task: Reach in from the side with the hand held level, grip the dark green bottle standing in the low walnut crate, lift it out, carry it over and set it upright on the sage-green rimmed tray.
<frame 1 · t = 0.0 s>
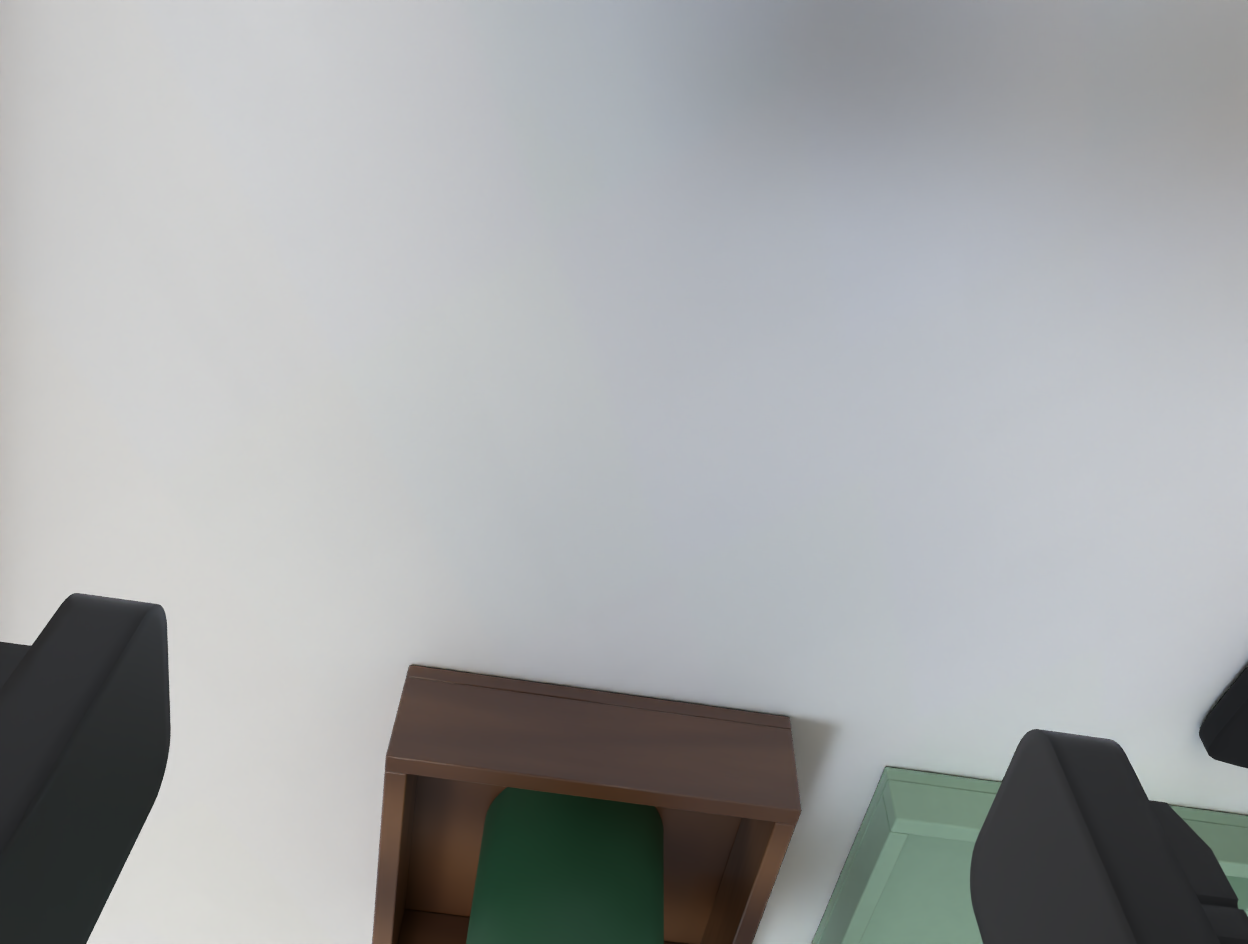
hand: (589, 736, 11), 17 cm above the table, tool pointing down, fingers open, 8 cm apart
crate: (575, 817, 37), on the table
green bottle: (574, 829, 37), resting on crate
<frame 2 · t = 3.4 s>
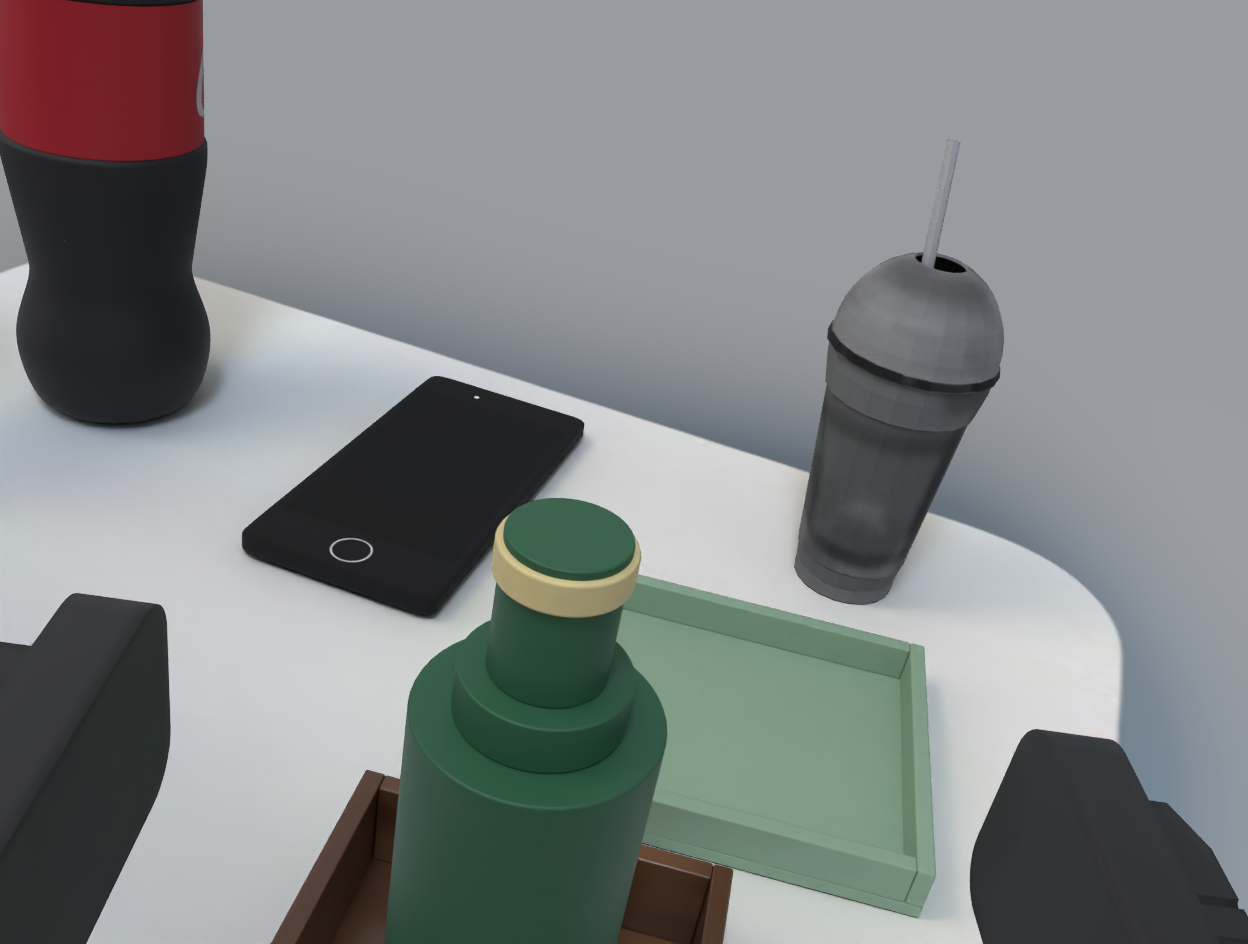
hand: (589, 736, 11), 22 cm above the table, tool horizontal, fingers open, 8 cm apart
beverage cup: (840, 577, 55), on the table
tray: (699, 730, 44), on the table
cola bottle: (119, 398, 58), on the table
cell phone: (431, 490, 55), on the table
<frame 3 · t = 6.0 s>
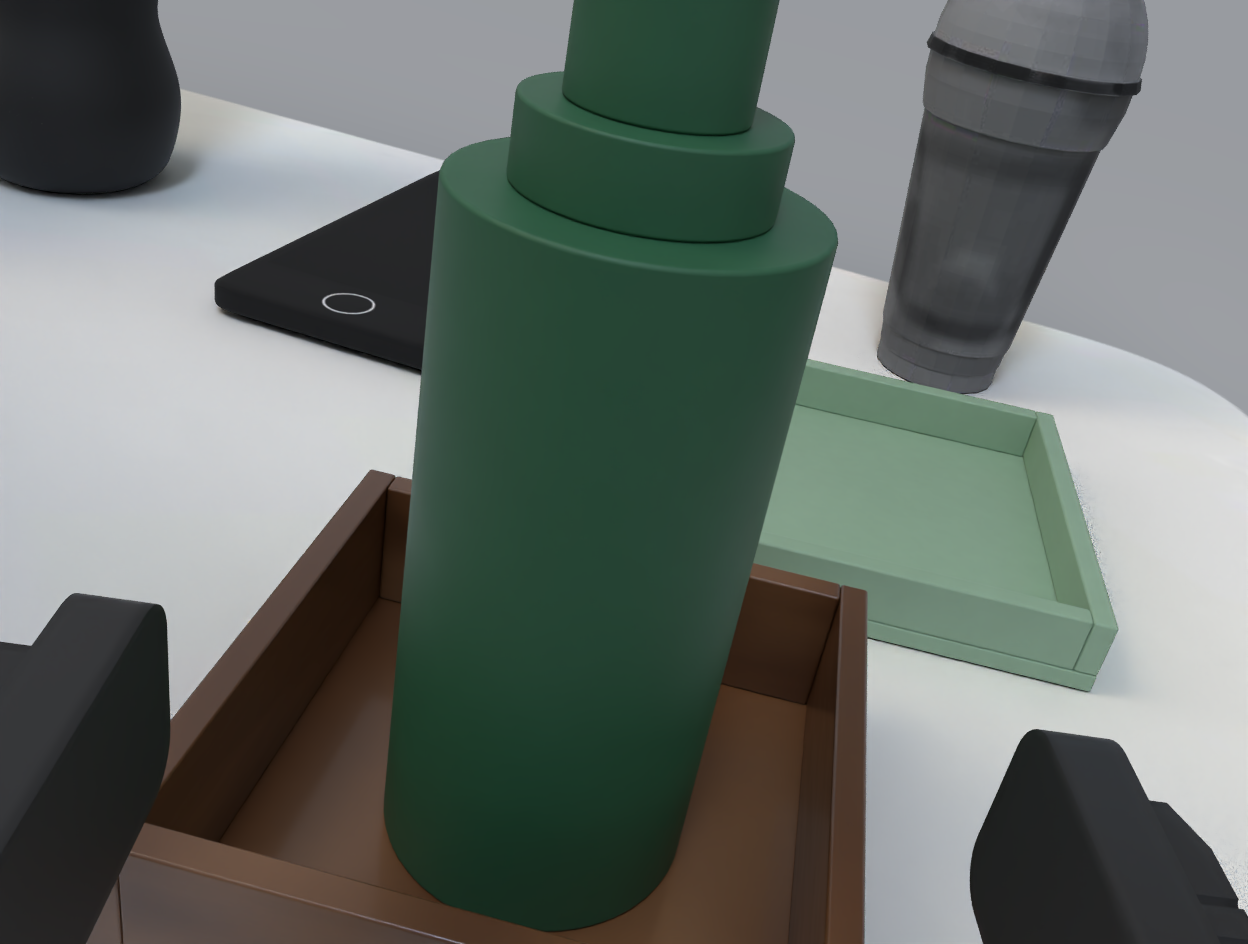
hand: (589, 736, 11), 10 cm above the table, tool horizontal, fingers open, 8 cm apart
beverage cup: (932, 370, 46), on the table
tray: (786, 497, 35), on the table
cola bottle: (73, 175, 49), on the table
cell phone: (444, 270, 47), on the table
crate: (530, 827, 23), on the table
green bottle: (533, 809, 22), resting on crate
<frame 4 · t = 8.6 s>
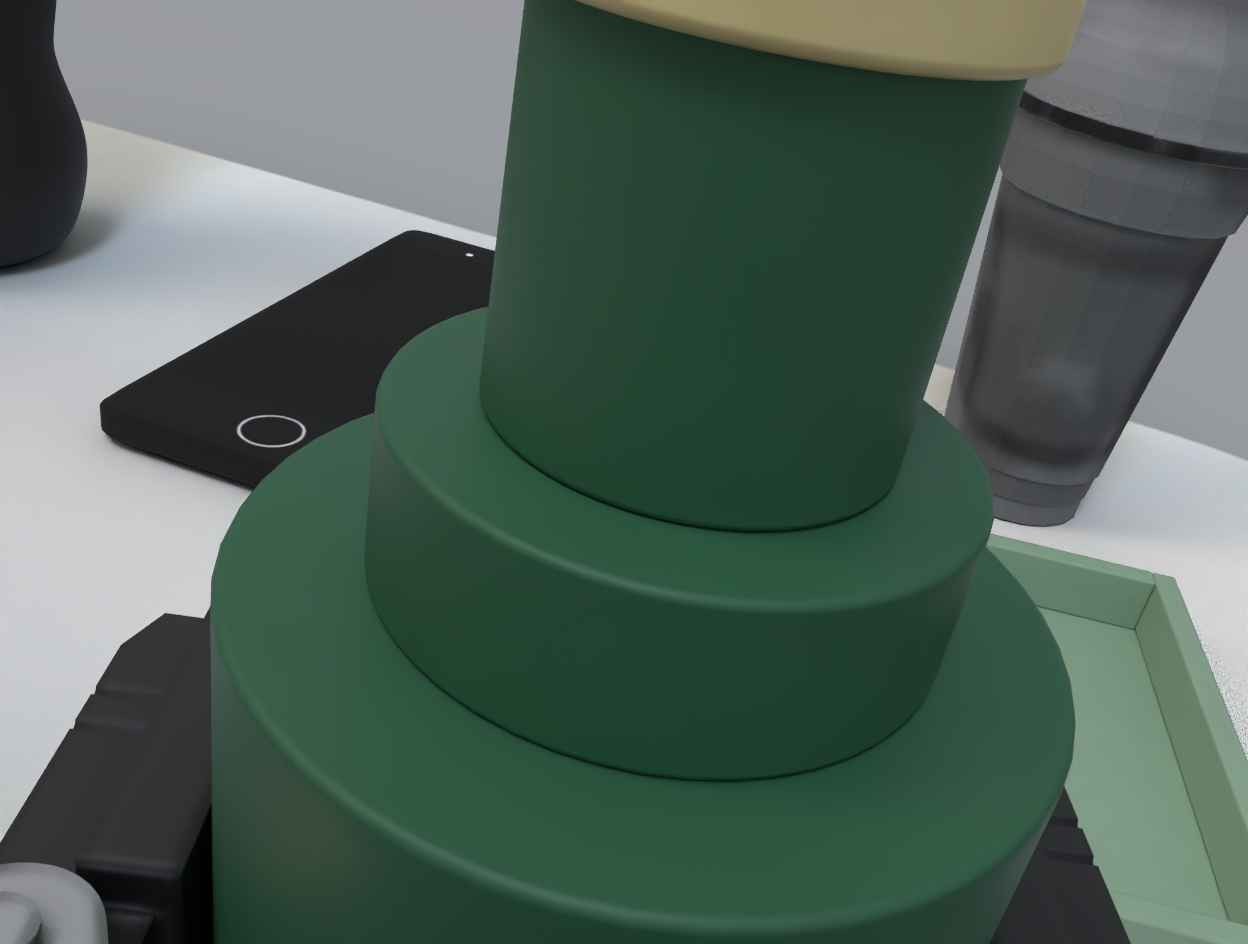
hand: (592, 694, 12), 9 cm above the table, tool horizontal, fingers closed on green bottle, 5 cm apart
beverage cup: (1002, 491, 38), on the table
tray: (837, 708, 27), on the table
cell phone: (403, 366, 38), on the table
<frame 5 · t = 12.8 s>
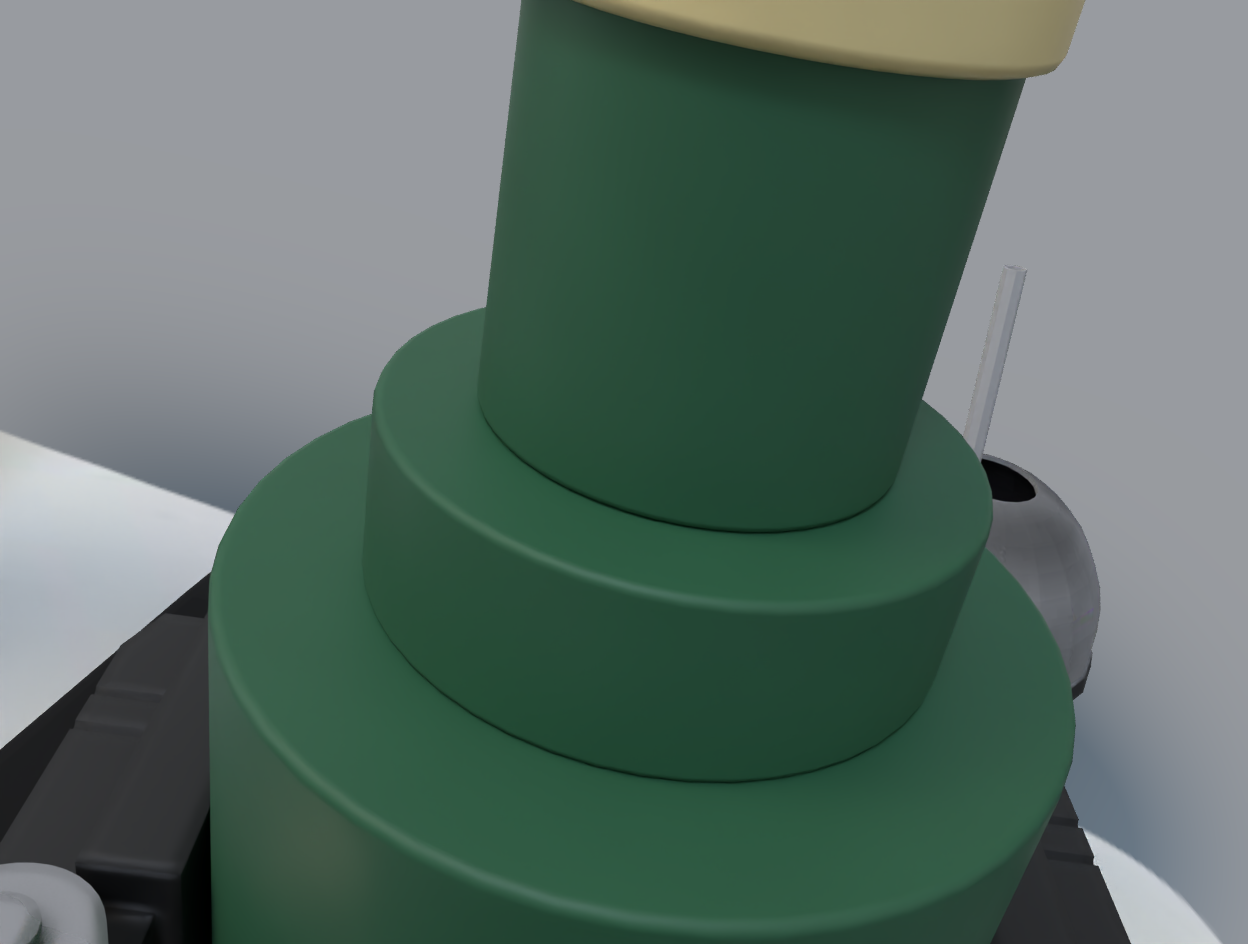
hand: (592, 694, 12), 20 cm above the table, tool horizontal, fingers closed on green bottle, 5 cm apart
beverage cup: (820, 932, 35), on the table
cell phone: (167, 795, 35), on the table
when the fingers open (9 cm above the table, at t = 16.9 s): green bottle stays where it is, resting on tray.
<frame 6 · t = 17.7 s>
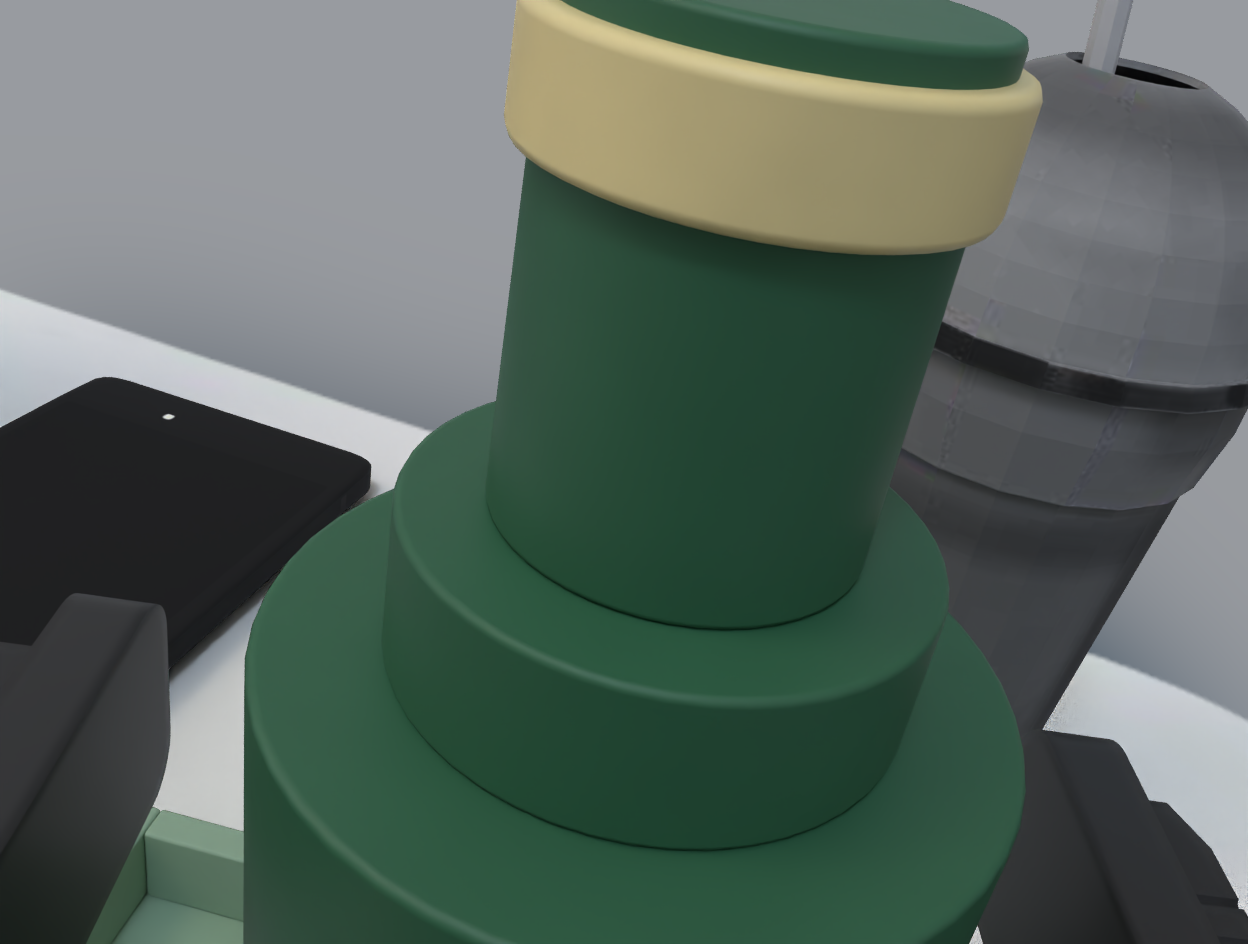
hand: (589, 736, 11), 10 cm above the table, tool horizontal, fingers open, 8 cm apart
beverage cup: (866, 802, 26), on the table
cell phone: (0, 617, 26), on the table
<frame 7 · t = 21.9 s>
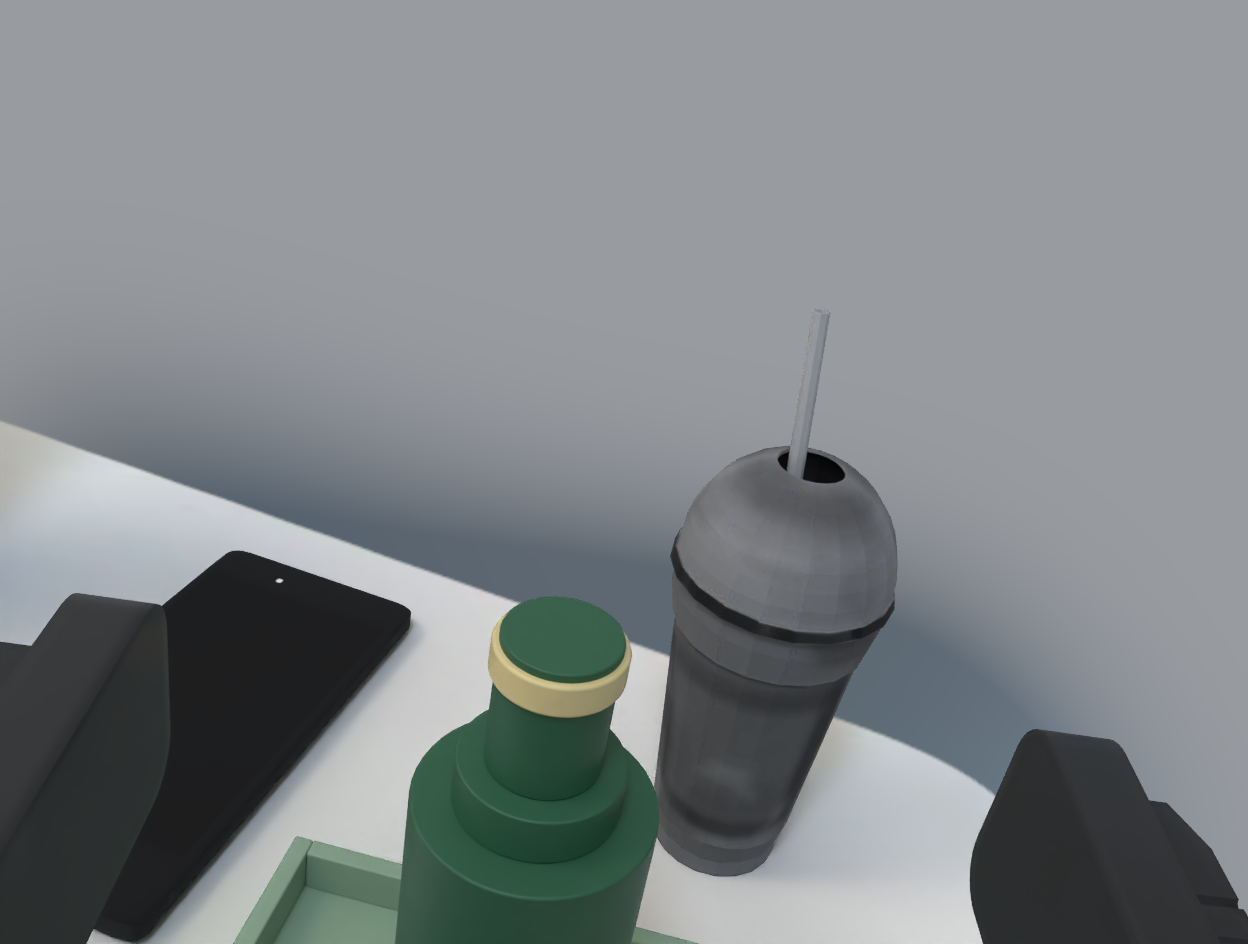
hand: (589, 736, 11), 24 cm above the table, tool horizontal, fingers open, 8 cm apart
beverage cup: (711, 831, 44), on the table
cell phone: (195, 723, 44), on the table
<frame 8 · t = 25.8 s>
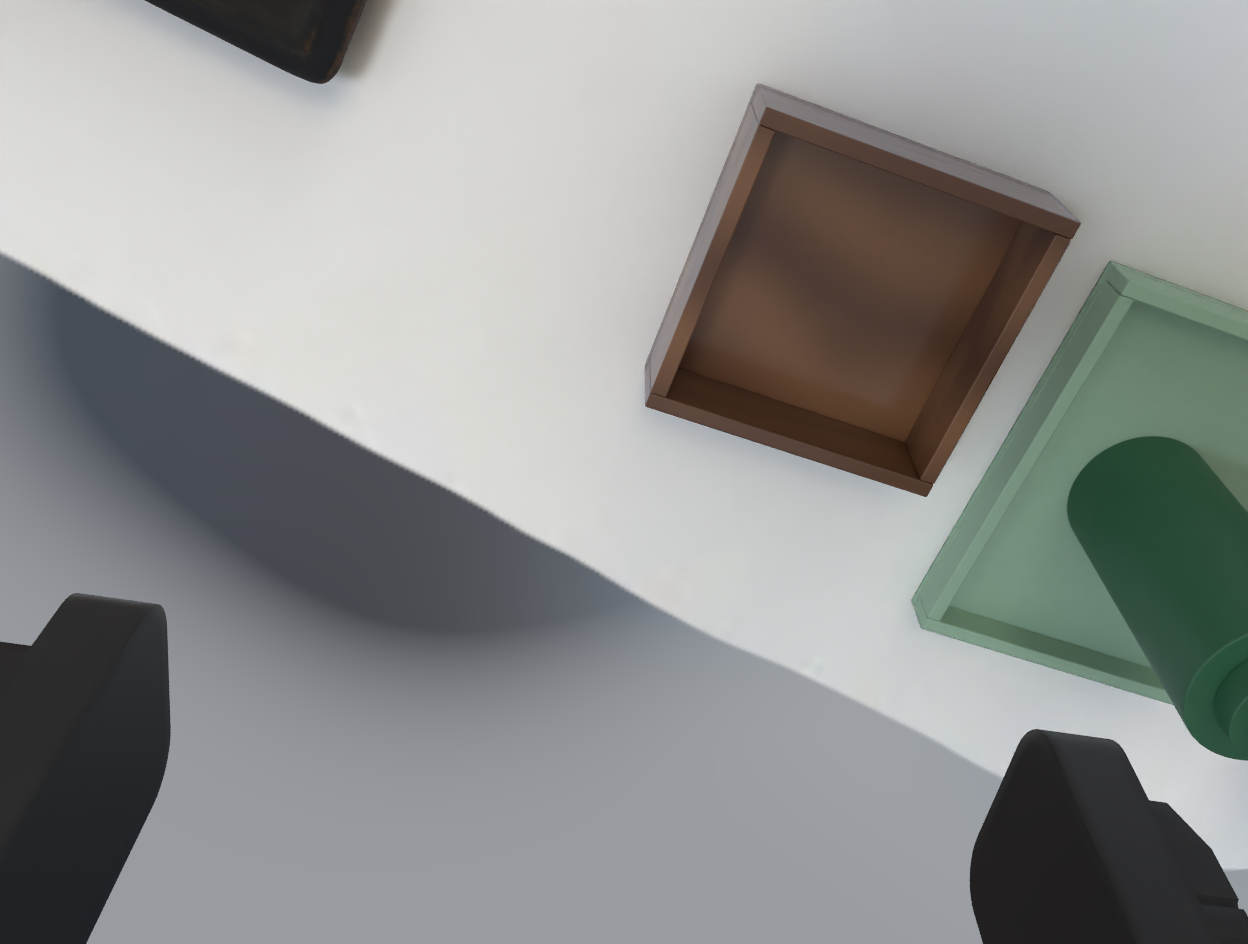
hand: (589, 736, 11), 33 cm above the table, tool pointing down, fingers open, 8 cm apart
tray: (1137, 489, 48), on the table
crate: (838, 282, 44), on the table
green bottle: (1137, 497, 48), resting on tray
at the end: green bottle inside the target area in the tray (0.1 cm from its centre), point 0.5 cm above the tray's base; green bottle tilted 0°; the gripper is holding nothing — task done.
